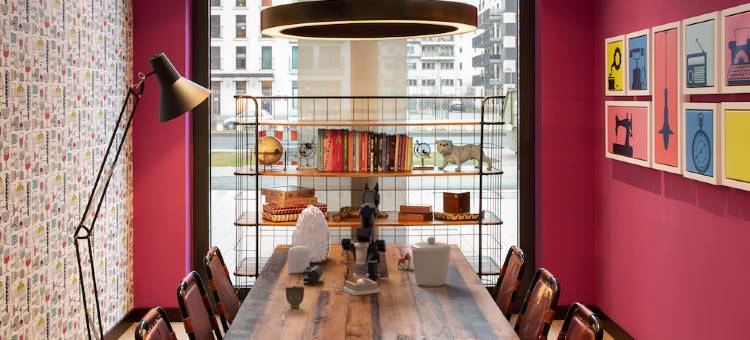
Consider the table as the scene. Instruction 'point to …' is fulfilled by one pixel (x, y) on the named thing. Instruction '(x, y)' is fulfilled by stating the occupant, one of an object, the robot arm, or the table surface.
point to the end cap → (312, 275)
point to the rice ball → (312, 234)
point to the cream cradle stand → (361, 287)
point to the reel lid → (361, 281)
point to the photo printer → (298, 259)
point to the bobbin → (361, 261)
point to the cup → (294, 296)
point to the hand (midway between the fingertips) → (360, 261)
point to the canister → (431, 262)
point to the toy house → (405, 262)
